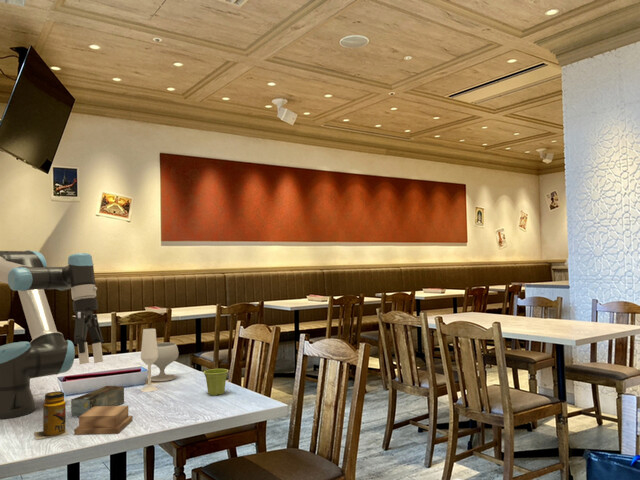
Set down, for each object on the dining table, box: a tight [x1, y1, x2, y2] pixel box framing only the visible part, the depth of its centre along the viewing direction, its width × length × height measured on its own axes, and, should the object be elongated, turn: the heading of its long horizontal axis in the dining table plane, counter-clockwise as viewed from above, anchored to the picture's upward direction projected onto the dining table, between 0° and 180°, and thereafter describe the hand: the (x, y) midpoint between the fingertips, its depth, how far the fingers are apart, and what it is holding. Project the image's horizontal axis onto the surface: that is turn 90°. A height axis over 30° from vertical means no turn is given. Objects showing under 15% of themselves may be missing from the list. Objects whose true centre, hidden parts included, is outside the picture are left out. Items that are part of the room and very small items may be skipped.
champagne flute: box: [140, 328, 159, 393], centre depth 213 cm, size 7×7×24 cm
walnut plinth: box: [73, 405, 134, 436], centre depth 165 cm, size 13×13×5 cm
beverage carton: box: [70, 385, 125, 418], centre depth 185 cm, size 8×19×7 cm, turn 165°
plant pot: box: [203, 368, 229, 396], centre depth 204 cm, size 9×9×9 cm
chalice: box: [151, 342, 180, 382], centre depth 232 cm, size 14×14×15 cm
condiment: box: [33, 391, 69, 441], centre depth 159 cm, size 7×8×12 cm
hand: (91, 363), depth 174 cm, fingers open, 13 cm apart
